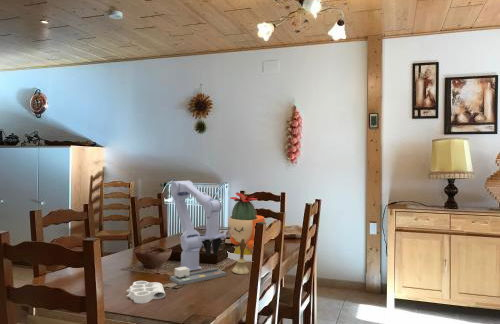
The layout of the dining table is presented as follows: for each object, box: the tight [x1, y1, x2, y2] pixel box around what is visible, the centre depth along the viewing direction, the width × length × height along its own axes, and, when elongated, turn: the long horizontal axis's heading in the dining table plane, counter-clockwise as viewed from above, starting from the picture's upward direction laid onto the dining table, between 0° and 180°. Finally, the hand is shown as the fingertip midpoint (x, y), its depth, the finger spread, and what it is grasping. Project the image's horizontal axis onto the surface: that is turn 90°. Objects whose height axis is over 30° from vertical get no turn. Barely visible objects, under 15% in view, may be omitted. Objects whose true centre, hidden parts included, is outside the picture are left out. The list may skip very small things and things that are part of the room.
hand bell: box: [231, 239, 250, 275], centre depth 197 cm, size 8×8×16 cm
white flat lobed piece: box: [125, 280, 166, 304], centre depth 164 cm, size 3×18×15 cm
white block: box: [174, 266, 191, 278], centre depth 182 cm, size 7×5×3 cm
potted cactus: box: [227, 192, 266, 263], centre depth 228 cm, size 22×22×35 cm
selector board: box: [169, 267, 227, 286], centre depth 187 cm, size 9×24×2 cm, turn 128°
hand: (211, 255), depth 191 cm, fingers open, 3 cm apart
